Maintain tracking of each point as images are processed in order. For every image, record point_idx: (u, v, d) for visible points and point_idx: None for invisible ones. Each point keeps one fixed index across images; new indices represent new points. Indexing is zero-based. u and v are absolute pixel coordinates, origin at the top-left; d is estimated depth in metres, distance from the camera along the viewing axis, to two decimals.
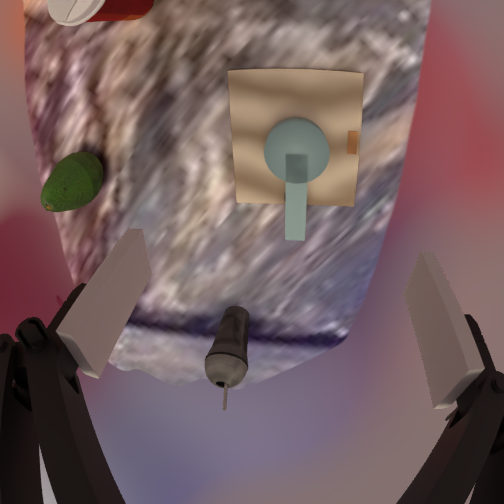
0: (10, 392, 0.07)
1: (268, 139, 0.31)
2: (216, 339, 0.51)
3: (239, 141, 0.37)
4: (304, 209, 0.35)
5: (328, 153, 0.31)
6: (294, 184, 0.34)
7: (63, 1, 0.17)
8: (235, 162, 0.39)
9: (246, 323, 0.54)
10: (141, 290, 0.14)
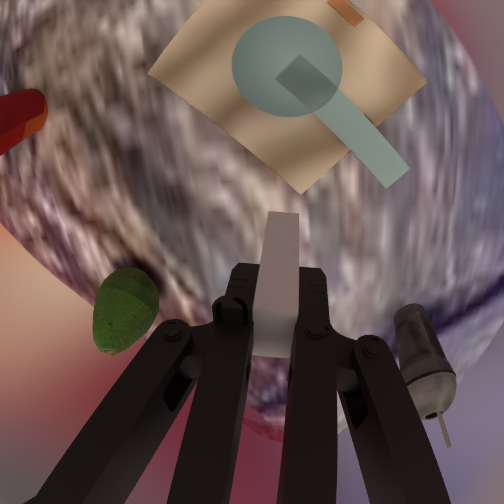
0: (161, 392, 0.08)
1: (237, 83, 0.18)
2: (400, 364, 0.32)
3: (234, 125, 0.25)
4: (371, 127, 0.18)
5: (320, 29, 0.15)
6: (326, 105, 0.18)
7: None
8: (254, 151, 0.26)
9: (424, 319, 0.34)
10: None
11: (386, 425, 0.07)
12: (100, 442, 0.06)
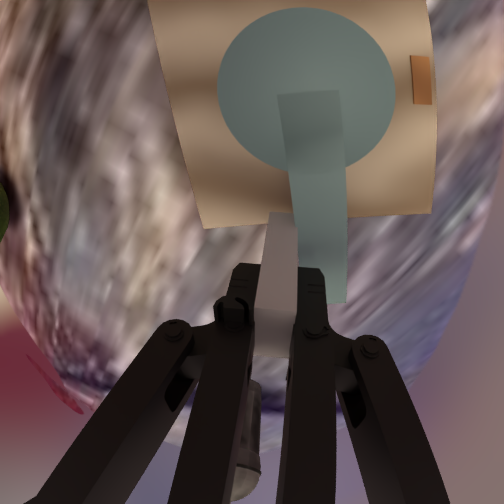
0: (162, 393, 0.08)
1: (224, 64, 0.10)
2: None
3: (185, 104, 0.17)
4: (342, 238, 0.14)
5: (391, 83, 0.10)
6: (312, 176, 0.13)
7: None
8: (185, 149, 0.18)
9: (256, 403, 0.33)
10: None
11: (385, 425, 0.07)
12: (101, 442, 0.06)
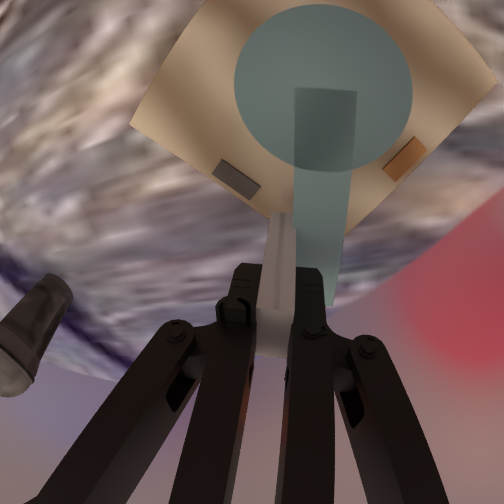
0: (163, 393, 0.08)
1: (245, 49, 0.10)
2: (8, 316, 0.24)
3: (212, 15, 0.13)
4: (338, 240, 0.14)
5: (409, 94, 0.10)
6: (318, 174, 0.12)
7: None
8: (175, 48, 0.15)
9: (60, 312, 0.29)
10: None
11: (383, 425, 0.07)
12: (102, 442, 0.06)
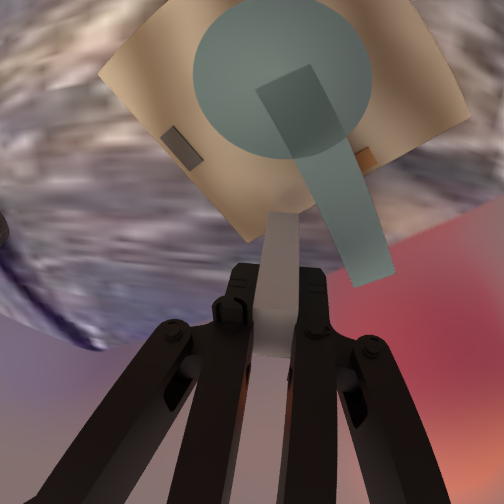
0: (161, 392, 0.08)
1: (196, 79, 0.11)
2: None
3: None
4: (369, 208, 0.13)
5: (358, 39, 0.09)
6: (318, 155, 0.12)
7: None
8: (160, 11, 0.13)
9: None
10: None
11: (386, 425, 0.07)
12: (100, 442, 0.06)
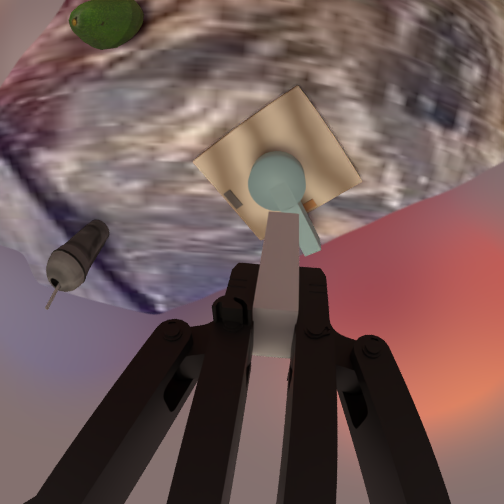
0: (161, 392, 0.08)
1: (249, 185, 0.37)
2: (74, 240, 0.44)
3: (245, 130, 0.39)
4: (307, 226, 0.40)
5: (301, 172, 0.36)
6: (288, 209, 0.39)
7: None
8: (225, 138, 0.40)
9: (103, 244, 0.50)
10: None
11: (386, 425, 0.07)
12: (100, 442, 0.06)
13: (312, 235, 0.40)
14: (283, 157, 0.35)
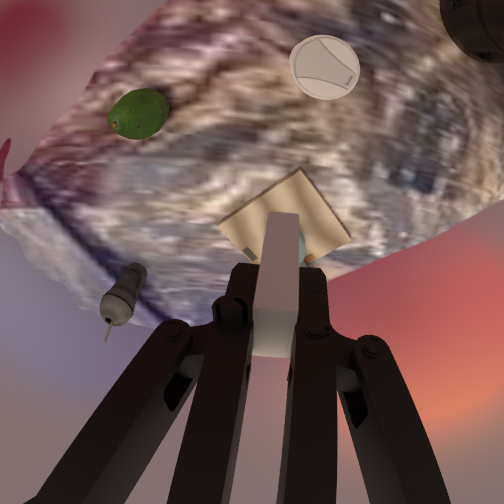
0: (161, 392, 0.08)
1: None
2: (121, 284, 0.59)
3: (258, 204, 0.52)
4: None
5: (301, 243, 0.48)
6: None
7: (314, 63, 0.27)
8: (243, 210, 0.53)
9: None
10: None
11: (386, 425, 0.07)
12: (100, 442, 0.06)
13: None
14: None
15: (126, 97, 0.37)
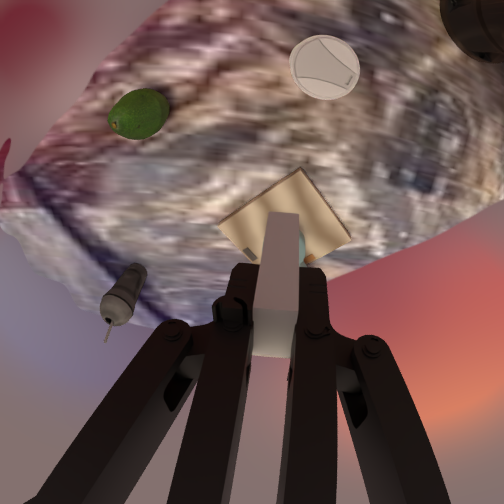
0: (161, 392, 0.08)
1: None
2: (121, 284, 0.59)
3: (258, 204, 0.52)
4: None
5: (301, 243, 0.48)
6: None
7: (314, 63, 0.27)
8: (243, 210, 0.53)
9: None
10: None
11: (386, 425, 0.07)
12: (100, 442, 0.06)
13: None
14: None
15: (126, 97, 0.37)
